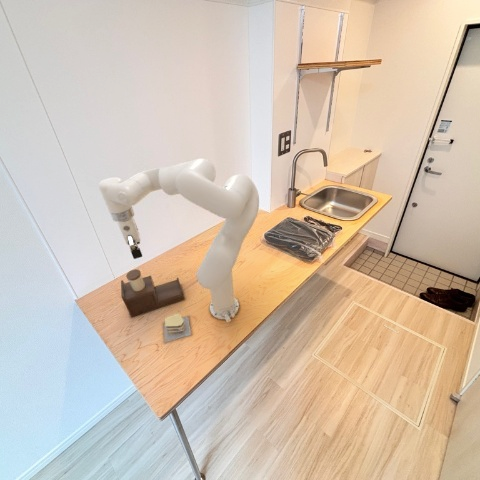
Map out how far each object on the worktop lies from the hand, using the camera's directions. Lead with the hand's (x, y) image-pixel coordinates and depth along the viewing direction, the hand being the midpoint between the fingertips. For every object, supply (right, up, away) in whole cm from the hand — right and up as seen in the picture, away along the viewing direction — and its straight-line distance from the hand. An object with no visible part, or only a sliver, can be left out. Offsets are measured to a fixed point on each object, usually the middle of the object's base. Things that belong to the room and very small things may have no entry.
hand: (137, 250), depth 97 cm
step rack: (+4, -23, +14) cm, 27 cm away
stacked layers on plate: (+16, -32, +1) cm, 36 cm away
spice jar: (-2, -16, +6) cm, 17 cm away
